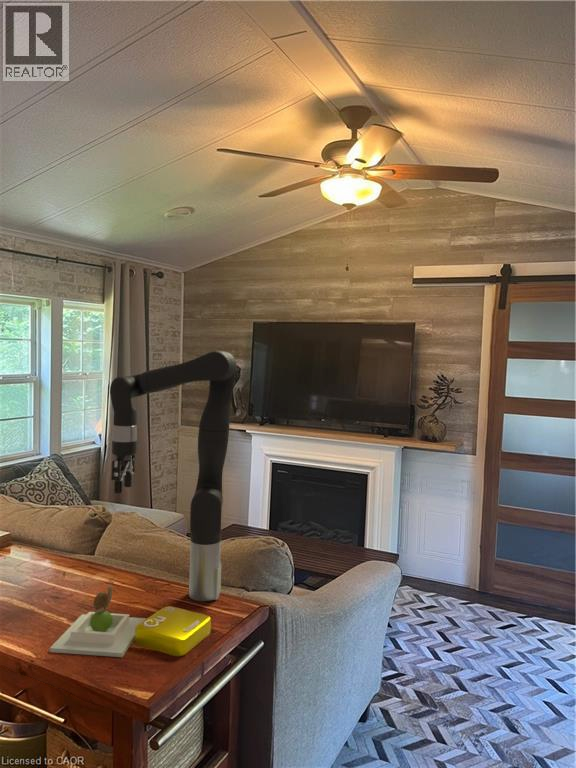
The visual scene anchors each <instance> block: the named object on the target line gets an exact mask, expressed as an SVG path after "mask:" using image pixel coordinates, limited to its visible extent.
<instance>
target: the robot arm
mask: <svg viewBox="0 0 576 768" xmlns="http://www.w3.org/2000/svg"><path fill="white" fill-rule="evenodd" d="M237 366H238V365H237V361H236V358H235V357H234V356H233V354H232V353H230V352H227V351H223V350H212V351H210V352H207V353H205V354H203V355H201V356H199V357H196V358H194V359H191V360H188V361H185V362H181V363H178V364H173V365H168V366H163V367H159V368H158V367H157V368H154V369H149V370H146V371H144V372H142V373H139V374H135V375H126V376H116V377H115V378H114V379H113V380H112V382H110V383H111V384H110V388H109V395H110V400H111V405H112V410H113V422H112V423H113V427H112V431H111V433H112V435H111V454H112V455H114V456H116V460H112V462H111V481H113V482H114V493H115V494H122V493H123V486H124V488H131V487H132V483H133V481H132V480H133V477H132V476H133V474H134V473H135V472H136V454H137V451H138V450H137V449H138V448H137V447H138V428H137V423H138V422H137V420H138V418H137V417H138V416H137V415H138V413H137V412H138V411H137V409H136V407H134V406H133V404H132V399H133V398H137V397H141V396H144V395H147V394H153V393H157V392H162V391H167V390H170V389H173V388H176V387H178V386H181V385H185V384H188V383H193V382H202V381H205V382H206V381H209V391H208V396H207V401H206V403H205V406H204V409H203V411H202V413H201V417H200V421H199V424H198V425H199V427H198V435H197V456H198V457H197V458H198V474H197V475H198V476H197V481H196V482H197V483H196V487H195V492H194V495H193V496H192V498H191V502H190V516H189V517H190V519H189V525H190V526H189V532H190V533H189V534H190V550H189V551H190V552H189V553H190V554H189V579H188V580H189V581H188V585H189V586H188V597H189V598H190V599H191V600H193V601H196V602H197V601H198V602H209V601H217V600H218V599H219V597H220V594H221V590H222V589H221V586H222V561H221V549H222V548H221V546H222V545H221V544H222V507H223V502H224V500H223V471H224V470H223V469H224V465H225V461H226V456H227V453H228V452H227V451H228V445H229V436H230V435H229V434H230V420H231V410H232V407H231V405H232V395H233V390H234V389H233V388H234V384H235V380H236V379H235V378H236V374H237V369H238V367H237Z"/></svg>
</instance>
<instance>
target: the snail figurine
mask: <svg viewBox="0 0 576 768" xmlns="http://www.w3.org/2000/svg"><path fill="white" fill-rule="evenodd" d="M109 583H110V584H111V585H110V586H108V588H107V592H105V591H101V592H98V593H97V594H96V595H95V597H94V599H93V607H94V611H93V612H95V613H94V614H93V616H92V617H91V620H90V625H91V628H92V629H93V630H94V631H96V632H105V631H106V630H108V629H109V628H110V626H111V624H112V615H111V614H110V613H111V612H109V611H108V610H106V609H107V608H108V607H109V606H110V604H111V600H112V597H113V591H114V581H112V580H110V581H109Z"/></svg>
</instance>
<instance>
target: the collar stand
mask: <svg viewBox="0 0 576 768" xmlns="http://www.w3.org/2000/svg"><path fill="white" fill-rule="evenodd" d="M94 613H95V612H94V611H89V612H88V613H87V614H86V613H85V614H84V613H82V614H81V615H79V617H78V618H76V620H75V621H74V622H73V623H72V624H71V625H70V627H68V629H66V630H65V632H64V633H63V634H62V635H61V636H59V638H57V640H56V641H55V642H54V643H53V644H52V645H51V646H50V648H49V653H58V654H74V655H84V656H85V655H88V656H101V657H112V658H114V657H116V658H123V657H124V656H125V654H126V652H127V651H128V649H129V648H130V646H131V645H132V644H133V642H135V628H136V626H137V625H138V624H140V623H141V622H143V621H144V620H146V619H147V618H145V617H134V616H133V617H130V614H127V613H111V612H110V614H111V615H112V624H111V626H110V628H109V629H108V630H106V631H105V632H96V631H94V630H93V629H92V628H91V625H90V620H91V617H92V616H93V614H94Z"/></svg>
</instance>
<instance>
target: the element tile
mask: <svg viewBox="0 0 576 768" xmlns="http://www.w3.org/2000/svg"><path fill="white" fill-rule="evenodd" d="M211 619H212V618H211V616H209V615H208V614H207V615H206V614H203V613H199V612H195V611H192V610H188V609H184V608H180V607H176V606H171V605H166V606H165V607H163V608H161V609H159V610H158V611H156V612H155V613H154V614H152V615H150V616H149V617H147V618H146V620H144V621H143V622H141V623H140V624H138V625H137V626H136V628H135V639H134V642H135V644H136V646H139V647H142V648H147V649H150V650H153V651H156V652H160V653H164V654H167V655H170V656H174V657H183V656H184V655H185V656H186V654H187V653H189V652H190V651H192V649H194V648H195V647H196V646H197V645H199V643H201V642H202V641H203V640H204V639H206V638H207V637H208V636H209V635H210V633H211V628H212V627H211V622H212V620H211Z"/></svg>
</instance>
